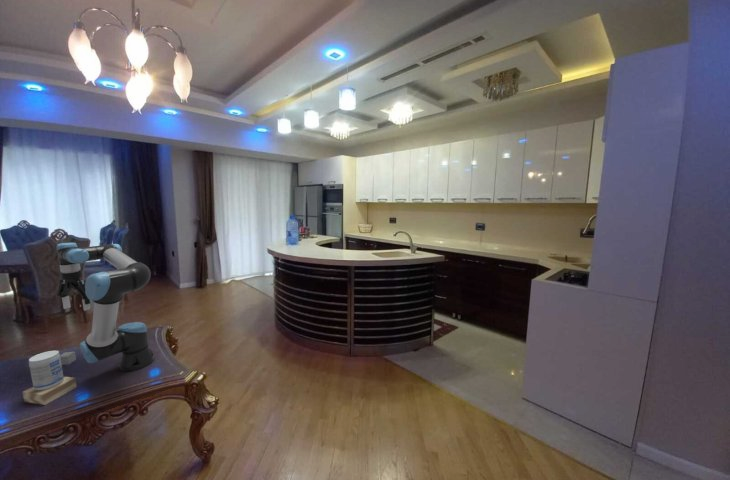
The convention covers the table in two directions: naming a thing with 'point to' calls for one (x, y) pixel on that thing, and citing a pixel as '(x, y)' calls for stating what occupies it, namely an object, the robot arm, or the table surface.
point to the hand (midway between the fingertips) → (77, 308)
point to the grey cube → (67, 358)
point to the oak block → (49, 392)
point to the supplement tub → (46, 370)
